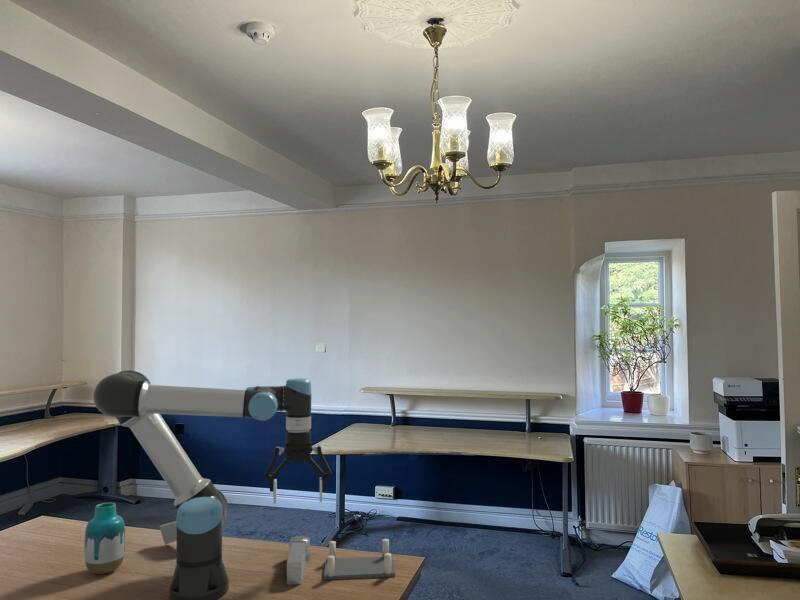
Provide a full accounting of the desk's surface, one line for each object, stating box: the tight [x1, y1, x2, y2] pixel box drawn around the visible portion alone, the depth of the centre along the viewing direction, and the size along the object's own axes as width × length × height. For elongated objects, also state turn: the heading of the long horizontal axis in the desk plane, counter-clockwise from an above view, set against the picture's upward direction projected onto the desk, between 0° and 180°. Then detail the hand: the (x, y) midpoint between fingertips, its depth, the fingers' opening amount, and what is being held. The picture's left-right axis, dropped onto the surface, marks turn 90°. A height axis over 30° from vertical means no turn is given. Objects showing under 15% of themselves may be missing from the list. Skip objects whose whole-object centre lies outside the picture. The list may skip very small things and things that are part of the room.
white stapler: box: [159, 520, 177, 545], centre depth 187 cm, size 4×10×15 cm
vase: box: [83, 501, 126, 575], centre depth 170 cm, size 11×11×19 cm
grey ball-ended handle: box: [286, 535, 311, 586], centre depth 170 cm, size 20×6×6 cm, turn 5°
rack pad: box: [323, 538, 396, 581], centre depth 170 cm, size 20×13×6 cm, turn 95°
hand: (298, 501), depth 175 cm, fingers open, 13 cm apart
